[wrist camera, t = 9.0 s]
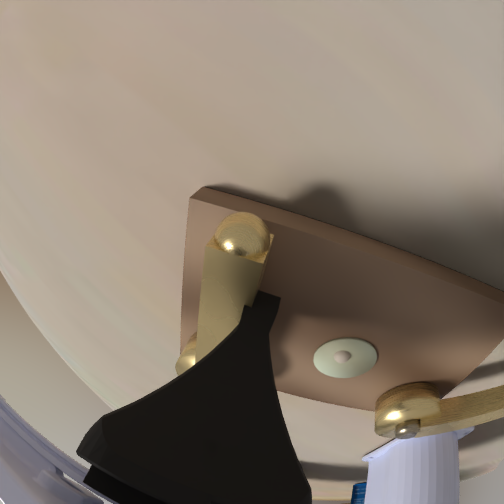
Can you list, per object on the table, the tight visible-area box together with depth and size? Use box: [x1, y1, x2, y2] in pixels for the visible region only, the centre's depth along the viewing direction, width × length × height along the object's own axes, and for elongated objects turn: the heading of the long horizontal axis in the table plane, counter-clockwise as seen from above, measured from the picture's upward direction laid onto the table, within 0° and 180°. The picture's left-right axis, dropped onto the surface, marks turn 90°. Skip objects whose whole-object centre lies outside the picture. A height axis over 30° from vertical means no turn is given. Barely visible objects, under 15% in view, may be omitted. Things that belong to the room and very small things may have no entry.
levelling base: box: [180, 187, 504, 411], centre depth 12 cm, size 10×16×2 cm, turn 79°
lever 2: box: [375, 383, 504, 439], centre depth 11 cm, size 11×4×2 cm, turn 104°
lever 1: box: [175, 212, 274, 376], centre depth 11 cm, size 11×4×2 cm, turn 169°
